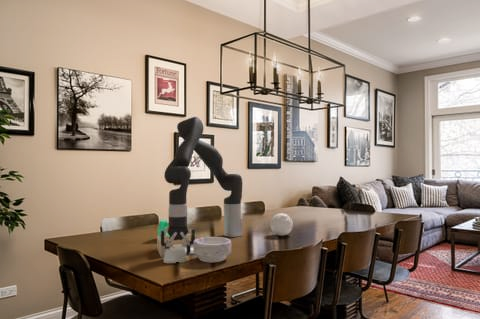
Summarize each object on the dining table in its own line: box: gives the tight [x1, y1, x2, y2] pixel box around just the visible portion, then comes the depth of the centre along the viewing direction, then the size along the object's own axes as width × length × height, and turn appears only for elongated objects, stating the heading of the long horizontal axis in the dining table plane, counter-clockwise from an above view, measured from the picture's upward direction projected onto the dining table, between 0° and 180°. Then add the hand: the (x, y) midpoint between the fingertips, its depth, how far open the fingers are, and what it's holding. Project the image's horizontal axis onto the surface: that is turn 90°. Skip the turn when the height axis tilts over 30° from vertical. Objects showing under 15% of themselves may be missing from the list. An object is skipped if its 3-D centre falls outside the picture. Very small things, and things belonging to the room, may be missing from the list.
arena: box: [156, 233, 198, 258], centre depth 164 cm, size 18×16×6 cm
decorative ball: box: [270, 212, 294, 237], centre depth 200 cm, size 12×12×12 cm
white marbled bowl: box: [193, 236, 232, 264], centre depth 149 cm, size 15×15×8 cm
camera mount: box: [157, 219, 169, 236], centre depth 190 cm, size 12×8×10 cm, turn 24°
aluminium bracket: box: [163, 244, 186, 264], centre depth 150 cm, size 10×8×5 cm
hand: (177, 255), depth 152 cm, fingers open, 7 cm apart
